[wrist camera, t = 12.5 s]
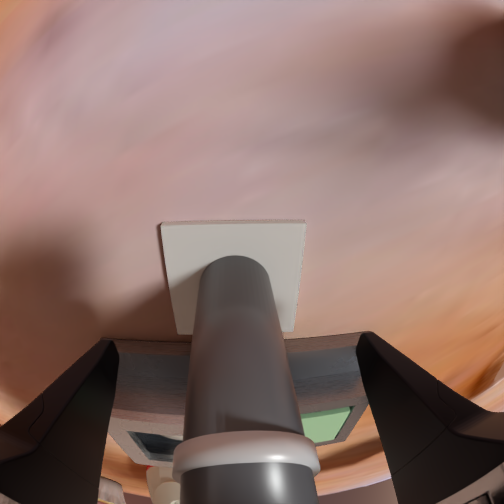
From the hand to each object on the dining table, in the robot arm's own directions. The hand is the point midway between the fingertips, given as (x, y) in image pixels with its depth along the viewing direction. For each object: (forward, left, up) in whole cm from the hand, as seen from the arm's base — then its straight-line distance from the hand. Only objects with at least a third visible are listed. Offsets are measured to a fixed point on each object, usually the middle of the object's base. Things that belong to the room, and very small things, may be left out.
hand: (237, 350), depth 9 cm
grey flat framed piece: (-10, 0, -4) cm, 11 cm away
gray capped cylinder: (0, 0, -4) cm, 4 cm away
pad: (0, 0, -4) cm, 4 cm away
